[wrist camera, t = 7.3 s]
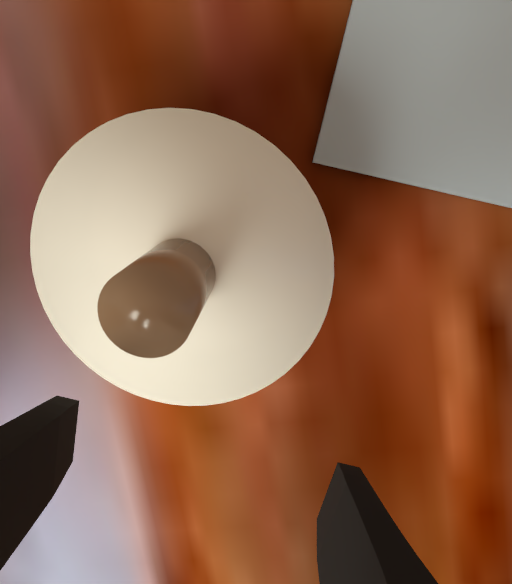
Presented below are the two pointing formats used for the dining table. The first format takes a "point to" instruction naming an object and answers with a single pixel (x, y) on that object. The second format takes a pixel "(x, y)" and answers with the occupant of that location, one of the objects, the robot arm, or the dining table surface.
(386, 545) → the robot arm
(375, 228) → the dining table surface
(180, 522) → the dining table surface
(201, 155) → the lid
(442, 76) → the mat
